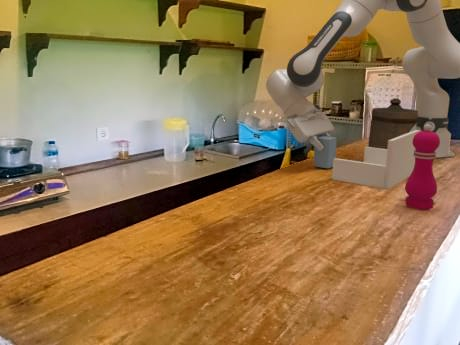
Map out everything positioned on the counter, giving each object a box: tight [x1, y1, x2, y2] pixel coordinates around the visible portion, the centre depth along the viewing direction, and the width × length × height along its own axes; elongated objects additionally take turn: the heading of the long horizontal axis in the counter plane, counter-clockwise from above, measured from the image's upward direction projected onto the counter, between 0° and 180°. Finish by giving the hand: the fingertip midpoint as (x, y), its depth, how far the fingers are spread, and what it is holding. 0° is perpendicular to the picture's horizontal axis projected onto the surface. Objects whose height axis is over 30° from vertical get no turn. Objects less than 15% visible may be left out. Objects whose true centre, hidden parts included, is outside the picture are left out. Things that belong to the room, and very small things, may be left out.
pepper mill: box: [404, 124, 440, 211], centre depth 114 cm, size 7×7×20 cm
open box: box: [331, 130, 420, 190], centre depth 140 cm, size 24×16×14 cm, turn 143°
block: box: [313, 136, 338, 169], centre depth 150 cm, size 5×5×9 cm
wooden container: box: [367, 97, 418, 149], centre depth 161 cm, size 15×15×22 cm
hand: (327, 147), depth 149 cm, fingers closed on block, 5 cm apart
